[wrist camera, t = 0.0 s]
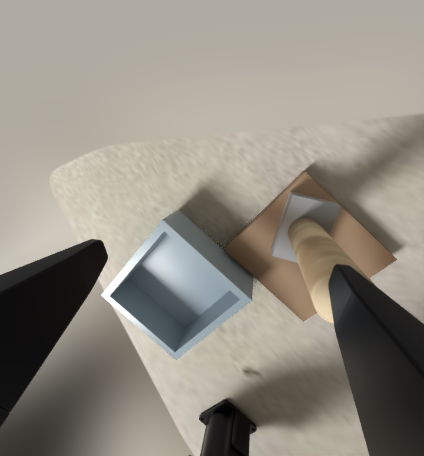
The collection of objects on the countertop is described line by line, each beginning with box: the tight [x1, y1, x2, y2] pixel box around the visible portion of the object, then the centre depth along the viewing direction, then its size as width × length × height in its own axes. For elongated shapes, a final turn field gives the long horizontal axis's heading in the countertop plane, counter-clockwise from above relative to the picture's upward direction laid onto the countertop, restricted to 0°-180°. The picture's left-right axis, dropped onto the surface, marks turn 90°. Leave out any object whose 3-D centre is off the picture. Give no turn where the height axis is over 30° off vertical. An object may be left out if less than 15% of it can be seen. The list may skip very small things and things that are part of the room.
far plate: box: [225, 171, 397, 321], centre depth 23 cm, size 11×12×1 cm
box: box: [101, 210, 253, 360], centre depth 25 cm, size 13×12×4 cm
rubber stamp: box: [271, 192, 374, 324], centre depth 16 cm, size 6×4×12 cm, turn 168°
